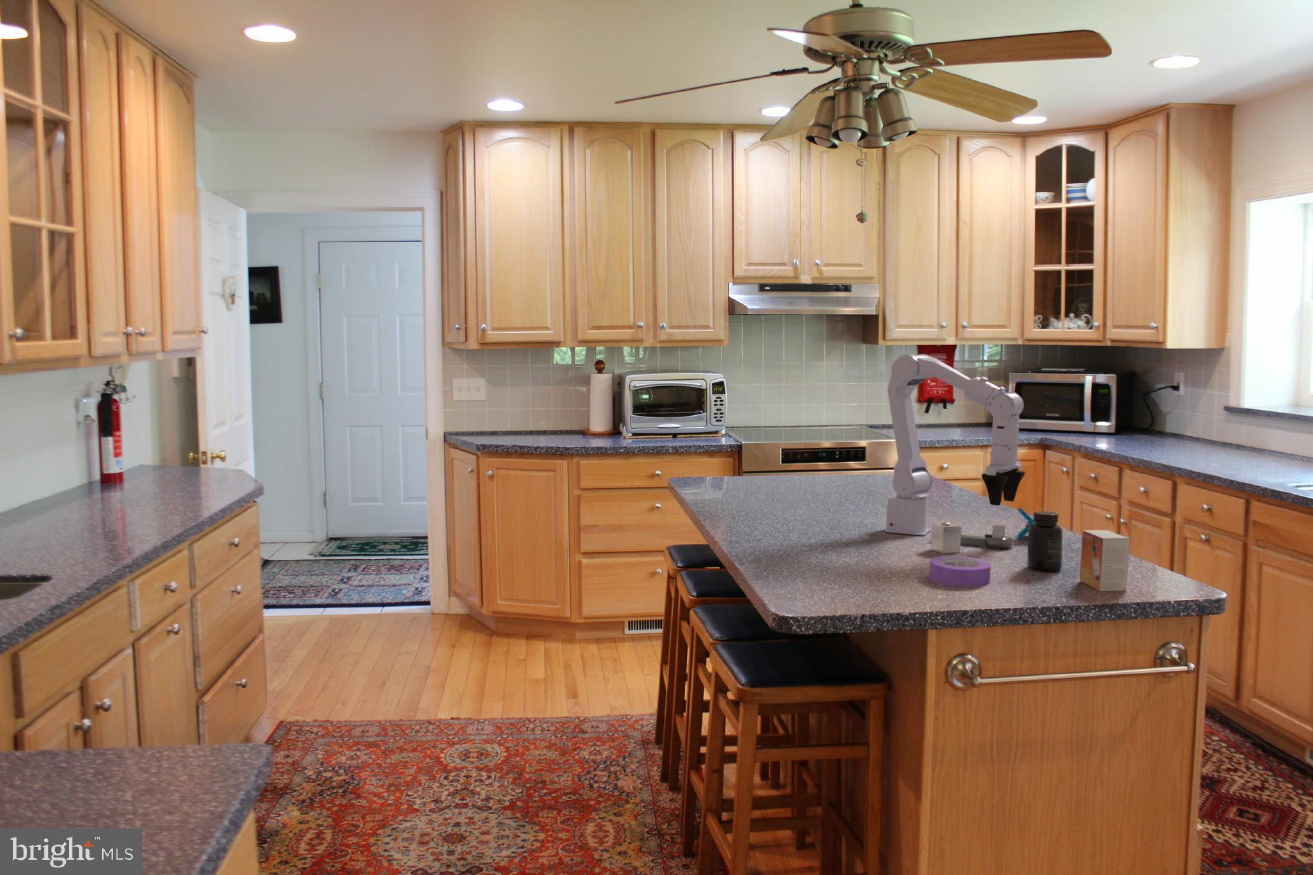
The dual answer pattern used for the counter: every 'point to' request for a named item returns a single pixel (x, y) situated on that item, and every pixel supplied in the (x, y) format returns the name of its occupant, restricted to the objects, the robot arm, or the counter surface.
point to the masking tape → (960, 571)
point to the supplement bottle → (1045, 543)
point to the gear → (1029, 522)
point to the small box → (1104, 560)
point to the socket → (945, 537)
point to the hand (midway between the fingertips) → (1002, 503)
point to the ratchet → (990, 539)
